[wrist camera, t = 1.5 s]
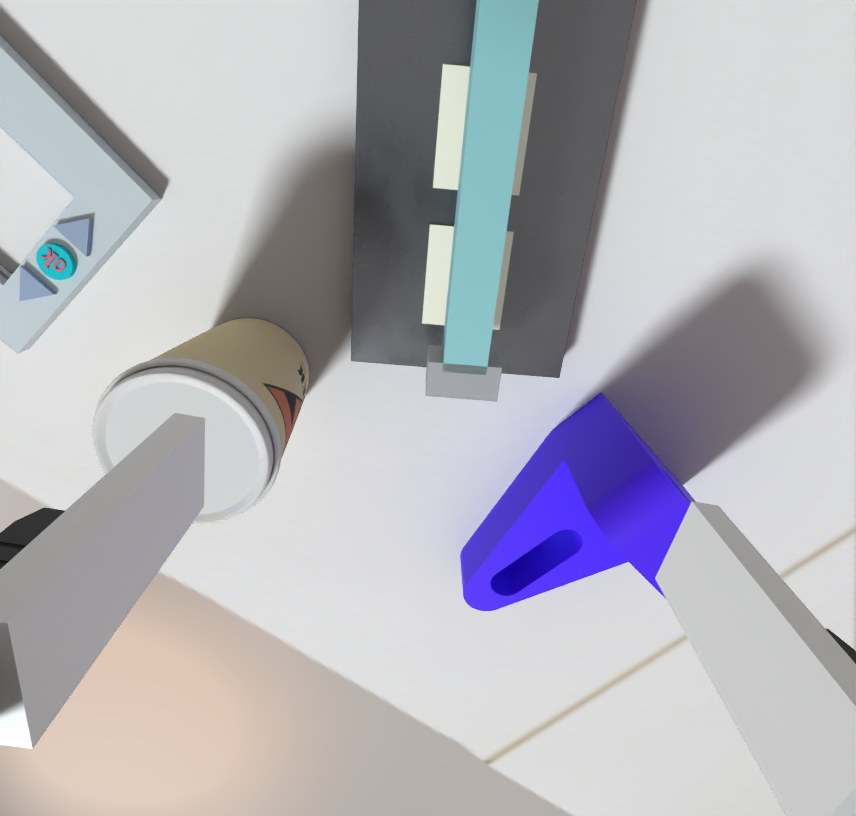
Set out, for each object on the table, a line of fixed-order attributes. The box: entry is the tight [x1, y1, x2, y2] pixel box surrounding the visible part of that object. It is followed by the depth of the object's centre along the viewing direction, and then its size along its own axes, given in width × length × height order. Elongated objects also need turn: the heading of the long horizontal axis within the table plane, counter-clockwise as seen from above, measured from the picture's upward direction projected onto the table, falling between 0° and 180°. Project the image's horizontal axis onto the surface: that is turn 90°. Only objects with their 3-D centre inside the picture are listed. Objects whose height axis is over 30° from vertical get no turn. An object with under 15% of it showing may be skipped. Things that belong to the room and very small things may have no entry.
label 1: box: [433, 64, 537, 196], centre depth 28 cm, size 6×5×1 cm
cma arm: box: [426, 0, 539, 401], centre depth 25 cm, size 23×4×3 cm, turn 175°
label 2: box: [422, 224, 514, 330], centre depth 32 cm, size 6×5×1 cm
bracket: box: [460, 393, 695, 611], centre depth 36 cm, size 18×11×12 cm, turn 134°
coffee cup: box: [92, 318, 309, 524], centre depth 31 cm, size 9×9×12 cm
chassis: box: [351, 0, 636, 378], centre depth 29 cm, size 24×14×4 cm, turn 175°
